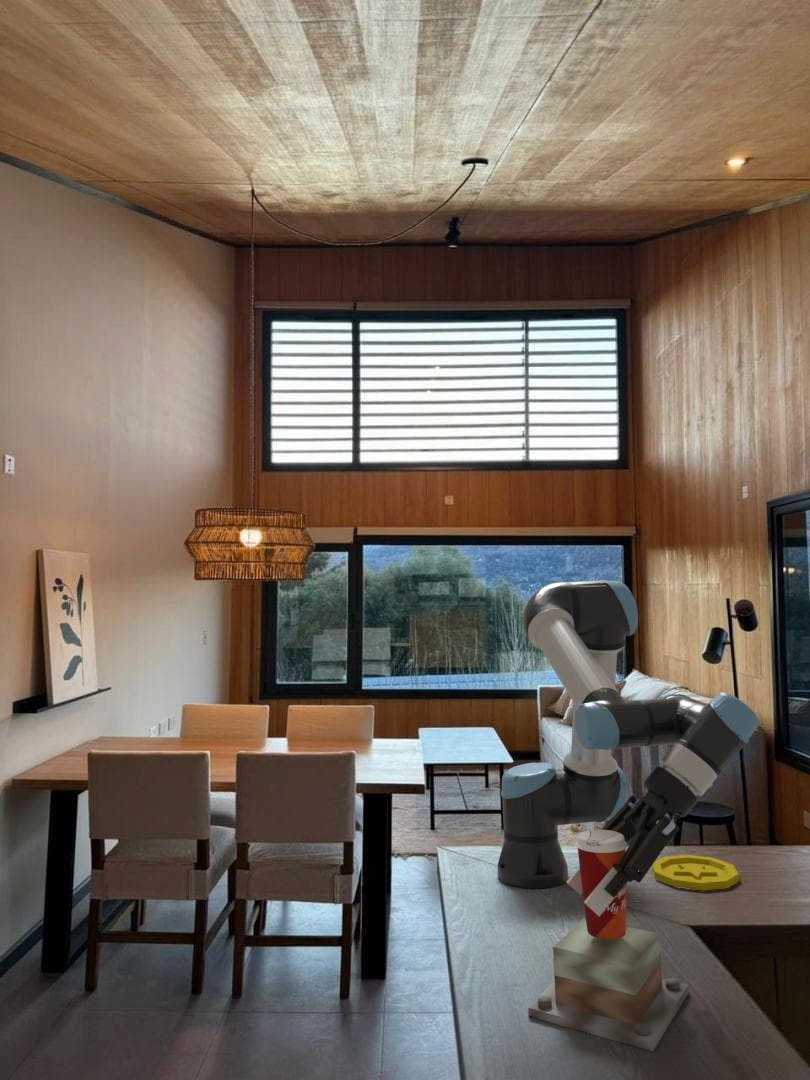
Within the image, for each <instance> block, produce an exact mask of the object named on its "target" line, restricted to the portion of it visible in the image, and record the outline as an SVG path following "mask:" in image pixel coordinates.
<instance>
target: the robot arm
mask: <svg viewBox="0 0 810 1080" xmlns="http://www.w3.org/2000/svg"><path fill="white" fill-rule="evenodd" d="M637 607H638V606H637V604H636V600H635V597H634V596H633V593H632V592H631V590H630V588H629V587H628V586H627V585H626V584H625V583H624V582H621V581H618V580H605V579H601V580H587V581H586V580H585V581H571V582H569V581H561V582H560V581H559V582H552V583H549V584H547V585H544V586H542V587H541V588H539V589H538V590H536V591H535V592H534V593H533V594H532V595H531V596H530V598H529V600H528V602H527V603H526V605H525V608H524V612H523V618H522V624H523V629H524V632H525V634H526V637H527V638H528V640H529V642H530V643H531V644H532V646H533V647H535V648H537V649H538V650H541V652H542V653H543V655H544V657H545V658H546V660H547V662H548V663H549V665H550V666H551V668H552V669H553V671H554V673H555V674H556V676H557V678H558V679H559V681H560V683H561V684H562V686H563V688H564V689H565V691H566V693H567V694H568V695H569V698H570V699H571V701H572V702H573V703H572V705H573V706H572V707H573V708H572V729H571V746H570V747H571V748H570V750H571V751H570V752H568V753H566V755H565V756H564V758H563V767H562V768H559V769H557V768H555V766H554V765H553V764H552V763H550V762H544V761H543V762H541V761H540V762H527V763H524V764H523V763H522V764H519V765H516V766H512V767H510V768H509V769H507V770H505V772H504V773H503V775H502V777H501V793H500V796H501V801H502V819H503V820H502V821H503V823H502V824H503V843H502V847H501V851H500V854H499V858H498V863H497V878H498V877H499V878H500V879H501V880H502V881H503V882H502V881H501V880H500V879H499V878H498V879H499V880H500V881H501V882H502V883H504V882H505V883H504V884H506V883H507V885H509V884H510V886H512V885H513V886H512V887H516V886H517V887H518V888H523V887H524V888H525V889H545V888H552V887H556V886H559V885H561V884H564V883H565V882H566V883H567V884H568V885H569V886H570V887H571V888H572V889H573V890H574V891H575V892H576V893H577V894H578V895H580V896H582V895H583V891H582V883H581V874H580V865H578V867H577V868H576V869H575V870H574V872H572V875H571V876H570V877H569V867H568V863H567V860H566V857H565V855H564V852H563V850H562V847H561V844H560V842H559V841H560V840H559V833H558V831H559V830H558V829H559V827H558V826H563V825H574V824H587V823H604V822H606V821H608V822H607V823H605V825H604V826H603V827H602V828H601V829H600V830H610V831H615V832H618V833H620V834H622V835H623V836H624V839H625V842H626V843H628V841H630V840H631V841H630V843H629V845H628V847H627V848H626V852H625V854H624V856H623V858H622V859H621V861H620V863H619V864H613V867H614V868H615V869H614V868H613V867H612V869H611V870H610V871H609V872H608V873H607V875H606V876H605V877H604V878H603V879H602V881H601V882H600V883H599V884H598V886H597V887H596V888H595V889H594V890H593V892H592V893H591V894H590V895H589V896H588V898H587V899H586V900H585V901H584V900H583V904H584V903H585V904H586V905H587V906H588V907H589V908H590V909H592V910H593V911H594V912H595V913H596V914H597V915H598V916H600V915H601V914H602V913H603V911H604V910H605V909H606V908H607V907H608V905H609V904H610V903H611V902H612V900H613V899H614V898H615V897H616V896H617V894H618V893H619V892H620V891H621V889H622V888H623V887H624V886H625V885H626V886H627V884H628V882H629V883H631V882H633V881H635V882H636V883H637V884H638V883H641V882H642V880H643V879H644V878H645V876H646V875H647V873H649V871H650V869H652V865H653V863H654V862H655V861H657V860H658V858H659V856H660V854H661V853H662V852H663V850H664V849H665V847H666V846H667V845H668V842H669V841H671V840H672V838H674V837H675V836H676V835H677V833H678V832H679V831H680V827H679V826H678V825H677V824H676V823H674V821H673V819H674V817H675V815H677V816H678V817H680V818H685V817H687V815H688V814H689V813H690V812H691V811H692V810H693V808H694V807H695V805H696V804H697V803H698V797H697V796H700V797H702V796H703V795H704V794H705V793H706V791H707V790H708V789H710V788H712V787H713V786H714V784H713V783H714V782H715V780H717V778H718V777H719V775H720V774H721V773H723V771H724V770H725V769H726V768H727V767H728V766H729V764H730V763H731V762H732V761H733V759H734V758H735V757H736V756H737V755H738V753H739V752H740V751H741V750H742V749H743V747H744V746H745V745H746V744H748V743H749V739H751V736H752V735H753V734H754V732H755V731H756V730H757V728H758V727H759V725H760V721H759V718H758V715H757V714H756V713H755V711H753V709H752V708H750V706H748V705H747V704H746V703H745V702H744V701H742V700H740V699H739V698H737V696H735V695H732V694H730V693H728V692H725V691H721V692H718V693H717V694H716V695H715V696H714V697H713V698H711V699H709V702H708V703H707V702H702V701H700V700H697V699H694V698H692V697H690V696H687V695H685V694H682V693H665V694H662V695H661V696H660V697H657V698H652V699H651V698H650V699H649V698H648V699H637V700H636V699H633V700H625V699H624V697H623V696H622V695H621V694H620V692H619V691H618V689H617V688H616V681H617V679H616V678H617V677H616V676H617V660H618V653H620V652H621V651H622V650H623V649H625V648H626V647H625V646H626V636H627V637H630V636H632V635H634V634H635V633H636V631H637V629H638V624H639V612H638V608H637ZM670 745H673V746H672V747H671V748H670V749H669V751H668V752H667V753H666V754H665V755H664V756H663V758H661V760H660V764H661V766H656V767H655V768H654V769H652V771H651V773H650V774H649V775H648V776H647V777H646V779H645V780H644V782H643V785H644V787H645V789H647V793H646V794H644V795H643V796H641V798H640V799H638V798H637V797H636V796H635V795H633V794H632V795H630V796H629V797H628V786H626V783H627V779H626V776H625V773H624V771H623V769H621V768H620V766H619V765H618V762H617V760H616V759H615V758H614V757H613V756H612V750H619V749H630V748H631V749H632V748H640V747H641V748H642V747H655V746H656V747H657V746H670Z"/></svg>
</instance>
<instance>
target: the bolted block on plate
mask: <svg viewBox="0 0 810 1080" xmlns="http://www.w3.org/2000/svg"><path fill="white" fill-rule="evenodd" d="M660 942H661V941H660V933H658V932H654V931H649V930H646V929H645V930H643V929H639V928H636V927H635V928H634V927H630V926H626V933H625V935H624V936H623V937H622V938H619V939H614V940H605V939H599V938H595V937H593V936H591V935H590V934H589V933H588V931H587V925H586V917H583V918H582V919H581V920H580V921H579V922H578V923H577V924H576V925H574V927H572V929H570V930H569V931H568V932H567V933H566V934H565V935H564V936H563V937H562V938H561V939H560V940H559V941H558V942H557V943H555V944H554V946H552V957H553V974H554V975H553V976H554V980H553V982H552V983H550V984H549V985H548V987H546V989H545V990H544V991H543V992H542V993H541V994H540V995H539V996H538V997H536V999H535V1000H533V1002H532V1003H531V1004H530V1005H529V1006H528V1007H527V1010H528V1011H527V1013H528V1017H529V1016H532V1017H531V1018H533V1017H536V1018H538V1019H537V1020H540V1019H541V1020H540V1021H543V1020H545V1021H544V1022H547V1021H548V1022H547V1023H552V1024H554V1023H555V1025H558V1026H562V1027H565V1028H568V1027H569V1029H572V1030H576V1031H580V1032H582V1031H583V1033H586V1032H587V1033H586V1034H589V1033H590V1034H589V1035H594V1036H597V1037H600V1038H603V1039H607V1040H611V1041H614V1042H618V1043H622V1044H625V1045H628V1046H629V1045H630V1046H632V1047H634V1048H635V1047H636V1048H639V1049H643V1050H647V1051H650V1052H654V1050H655V1049H656V1047H657V1046H658V1043H659V1042H660V1041H661V1040H662V1037H663V1035H664V1034H665V1032H666V1031H667V1029H668V1027H669V1026H670V1024H671V1023H672V1021H673V1019H674V1018H675V1016H676V1015H677V1013H678V1011H679V1009H680V1008H681V1007H682V1005H683V1003H684V1001H685V1000H686V998H687V997H688V995H689V994H690V989H689V984H687V983H682V982H680V980H678V979H677V978H673V977H671V978H670V977H669V978H666V979H665V978H662V976H663V974H662V957H661V943H660ZM536 1018H535V1019H536Z"/></svg>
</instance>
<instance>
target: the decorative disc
mask: <svg viewBox="0 0 810 1080" xmlns="http://www.w3.org/2000/svg"><path fill="white" fill-rule="evenodd" d="M651 872H652V874H654V875H653V877H655V878H654V880H655V879H657V880H660V881H662V882H665V883H667V884H670V885H672V886H675V887H685V888H690V889H696V890H712V889H723V890H725V889H724V888H728V889H730V888H731V887H730V886H732V885H733V886H735V885H736V884H738V883H739V882H740V875H739V872H738V871H737V869H736V867H735V866H734V865H733V864H731V863H730V862H729V863H728V862H726V861H723V860H721V859H718V858H716V857H709V856H702V855H690V854H683V855H682V854H681V855H672V856H671V855H670V856H663V857H661V858H659V859H656V860H655V862H654V863H653V865H652V866H651ZM657 880H656V881H657ZM738 881H739V882H738ZM662 882H661V883H662ZM737 882H738V883H737ZM735 883H736V884H735ZM734 884H735V885H734ZM733 886H732V887H733ZM729 887H730V888H729ZM712 891H713V890H712Z"/></svg>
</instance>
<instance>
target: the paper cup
mask: <svg viewBox="0 0 810 1080" xmlns="http://www.w3.org/2000/svg"><path fill="white" fill-rule="evenodd" d="M574 845H575V847H576V848H577V854H578V864H579V865H578V866H580V874H581V883H582V891H583V893H582V899H583V907H584V916H585V917H584V918H585V919H586V925H587V931H588V933H589V934H590V935H591V936H593V937H595V938H599V939H605V940H614V939H619V938H622V937H623V936H624V935H625V933H626V927H627V884H626V885H625V886H624V887H623V888H622V889H621V891H620V892H619V893H618V894H617V896H616V897H615V898H614V899H613V900H612V902H611V903H610V904H609V905H608V907H607V908H606V909H605V910H604V911H603V913H602V914H601V915H600V916H598V915H597V914H596V913H595V912H594V911H593V910H592V909H590V908H589V907H588V906H587V905H586V904H585V903H584V901H585V900H586V899H587V898H588V896H589V895H590V894H591V893H592V892H593V890H594V889H595V888H596V887H597V886H598V884H599V883H600V882H601V881H602V879H603V878H604V877H605V876H606V875H607V873H608V872H609V871H610V870H611V869H612V867H613V864H619V863H620V861H621V859H622V858H623V856H624V854H625V852H626V850H627V848H628V846H629V845H628V842H625V839H624V836H623V835H622V834H620V833H618V832H615V831H610V830H601V829H588V830H583V831H581V832H578V835H577V838H576V841H575V844H574ZM613 868H614V867H613ZM614 869H615V868H614Z"/></svg>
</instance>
